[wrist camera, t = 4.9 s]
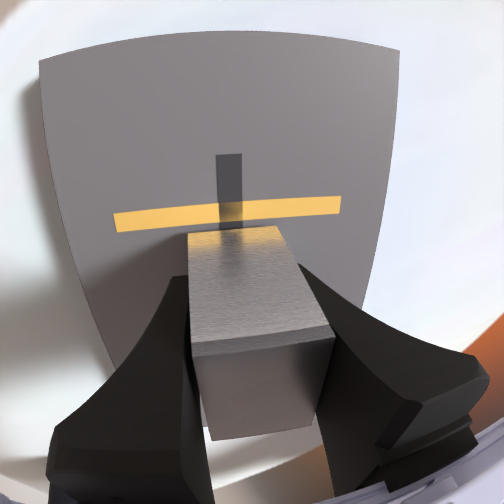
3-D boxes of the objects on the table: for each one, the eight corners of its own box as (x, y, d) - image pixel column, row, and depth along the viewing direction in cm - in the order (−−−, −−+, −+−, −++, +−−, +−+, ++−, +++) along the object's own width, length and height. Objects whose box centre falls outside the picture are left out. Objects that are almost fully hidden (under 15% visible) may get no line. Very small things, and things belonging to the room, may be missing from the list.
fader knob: (272, 314, 13) (310, 425, 9) (199, 322, 13) (211, 441, 8) (276, 225, 11) (335, 336, 7) (187, 233, 11) (192, 356, 6)
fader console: (322, 382, 21) (331, 405, 19) (147, 405, 19) (147, 430, 17) (371, 51, 10) (400, 50, 9) (60, 61, 9) (38, 60, 7)
